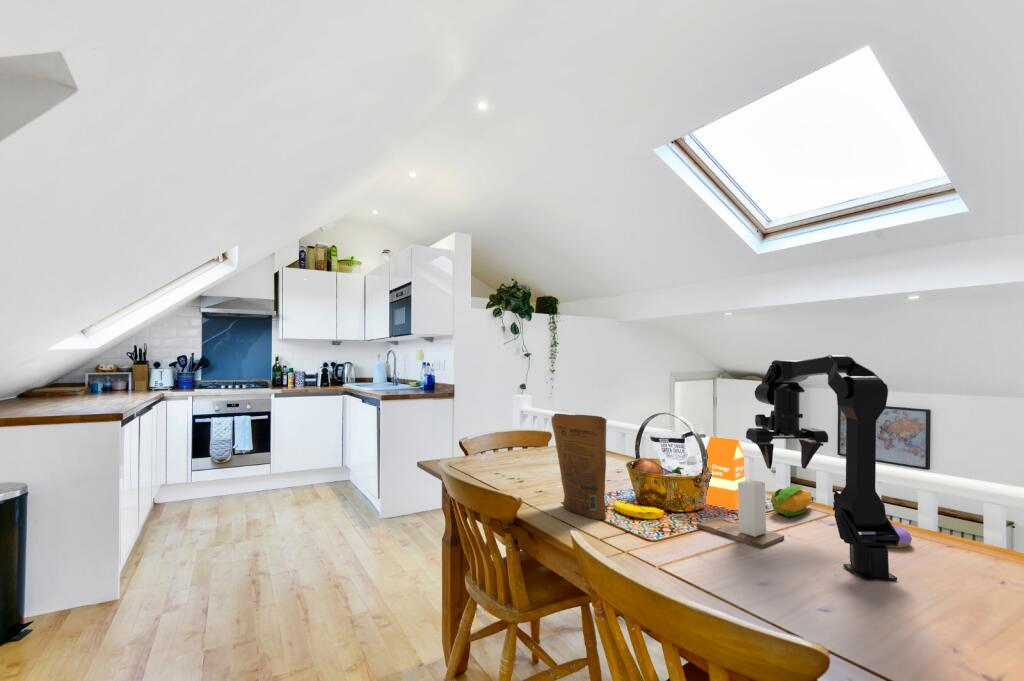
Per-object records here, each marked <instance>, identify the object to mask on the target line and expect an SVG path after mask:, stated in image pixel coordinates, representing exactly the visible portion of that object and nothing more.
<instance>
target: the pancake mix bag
mask: <svg viewBox="0 0 1024 681" xmlns="http://www.w3.org/2000/svg"><path fill="white" fill-rule="evenodd" d="M550 421H551V427H552V430H553V436H554V442H555V449H556V453H557V460H558V464H559V465H558V466H559V470H560V479H561V483H562V484H561V485H562V488H563V494H564V497H563V507H562V508H563V510H565V511H567V512H570V513H574V514H575V515H580V516H583V517H586V518H588V519H592V520H607V512H606V501H605V500H606V498H605V496H606V495H605V492H606V471H607V421H608V419H606V418H605V417H603V416H600V415H588V414H569V413H568V414H567V413H557V412H556V413H554V415H553V416H551V420H550Z"/></svg>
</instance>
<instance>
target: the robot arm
mask: <svg viewBox="0 0 1024 681" xmlns="http://www.w3.org/2000/svg"><path fill="white" fill-rule="evenodd" d="M770 364H771V365H769V367H768V369H767V371H766V373H765V375H764V376H763V378H762V379H761V383H759V384H758V385H757V387H756V388H755V390H754V396H755V399H756V400H757V401H758V402H760V403H762V404H766V405H771V406H773V410H770V416H766V415H765V414H761V413H759V414H755V416H754V418H755V419H754V424H755V426H756V427H750V428H749V427H748V429H747V430H746V432H745V438H746V439H747V440H750V441H751V442H752V443H753V444H755V445H757V447H758V448H759V451H760V453H761V455H762V458H763V460H764V463H765V466H766V467H767V469H768V470H771V469H772V465H773V457H774V456H773V455H774V443H771V442H773V440H780V439H781V440H783V439H784V440H786V439H787V440H788V439H789V440H791V439H792V440H793V439H794V440H796V439H798V442H799V444H800V448H801V449H800V450H801V452H800V455H801V458H800V463H801V465H800V466H801V468H802V469H807V467H808V466H809V464H810V462H811V460H812V459H813V457H814V455H815V454H816V453H817V451H818V450H820V449H819V448H820V447H822V446H823V447H824V444H825V443H829V434H828V433H827V432H826V430H824V429H819V428H816V427H801V428H800V419H804V414H803V413H800V393H805V389H804V388H803V387H802V386H801V385H800V384H799V383H801V382H803V381H805V380H807V379H808V377H813V376H814V377H815V376H822V375H823V376H824V375H827V385H828V386H829V388H830V389H831V390H832V391H833V392H834V393H835V394H836V400H837V402H836V403H837V407H838V408H839V409H840V411H841V412H842V413H843V415H844V417H845V419H846V421H845V422H846V423H845V424H846V425H845V426H846V427H845V429H846V430H845V434H846V435H845V438H846V439H845V486H844V488H843V489H842V490H841V491H839V490H838V491H834V493H833V508H832V510H833V511H834V515H833V516H834V518H835V523H836V527H837V532H838V535H839V538H840V539H841V540H843V542H844V543H845V544H848V545H849V563H843V566H842V567H844V568H845V569H847V570H848V571H850V572H851V573H853V574H855V575H856V576H858V577H860V578H861V579H862V580H865V581H897V580H898V577H897V576H895V575H894V574H893V573H891V572H890V570H889V569H890V567H889V566H890V564H889V562H890V561H889V547H886V546H898V543H899V540H900V537H899V535H898V534H897V532H896V530H895V529H894V527H893V526H894V525H893V526H892V523H891V521H890V520H889V519H888V517H887V512H886V507H885V503H884V502H883V500H882V499H881V497H880V496H879V494H878V493H877V490H876V476H877V475H876V474H877V473H876V472H877V471H876V468H877V466H876V462H877V461H876V460H877V457H876V456H877V420H878V419H879V418H880V416H881V415H882V413H883V412H884V410H886V408H887V402H888V397H889V388H888V384H887V383H885V382H884V381H883V379H882V378H880V377H879V376H878V375H877V374H876V373H875V372H874V371H873V370H870V369H869V368H867V367H865V366H863V365H861V364H859V363H858V362H856V361H855V359H854V358H852V357H851V356H850V355H847V354H846V355H845V354H827V355H826V356H823V357H816V358H811V359H805V360H800V359H790V360H789V359H787V360H786V359H781V360H780V359H776V360H775V359H774V360H773V361H772V362H771V363H770ZM841 374H846V375H847V376H843V377H842V375H841ZM861 532H875V534H867V535H862V534H861Z"/></svg>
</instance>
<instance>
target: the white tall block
mask: <svg viewBox="0 0 1024 681" xmlns="http://www.w3.org/2000/svg"><path fill="white" fill-rule="evenodd" d="M766 510H767V509H766V482H764V481H759V480H754V479H745V480H744V481H740V482H738V510H737V511H738V522H739V532H741V533H745V534H748V535H751V536H754V537H756V536H758V535H761V534H764V533H766V530H767V514H766V512H767V511H766Z"/></svg>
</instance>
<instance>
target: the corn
mask: <svg viewBox="0 0 1024 681" xmlns="http://www.w3.org/2000/svg"><path fill="white" fill-rule="evenodd" d="M803 488H804V486H803V485H791V486H787V487H786V488H779V489H777V490H776V491H774V492H773V493H772V495H771V498H770V503H771V505H772V508H773V510H774V512H775V513H776V514H778V515H781V514H782V515H784V516H785V517H795V516H798V515H800V514H802V513H805V512H806V511H807V510H808V508H807V506H809V505H810V504H811V501H812V499H813V497H812V494H811V492H810V491H808V490H806V489H803Z"/></svg>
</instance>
